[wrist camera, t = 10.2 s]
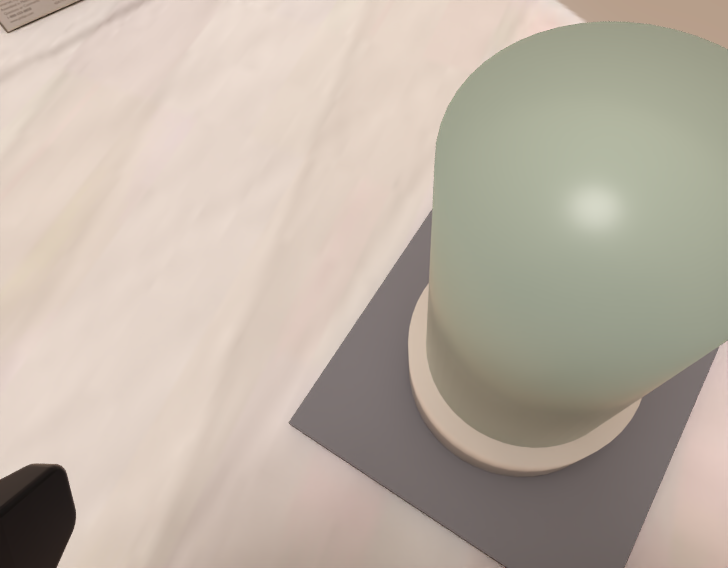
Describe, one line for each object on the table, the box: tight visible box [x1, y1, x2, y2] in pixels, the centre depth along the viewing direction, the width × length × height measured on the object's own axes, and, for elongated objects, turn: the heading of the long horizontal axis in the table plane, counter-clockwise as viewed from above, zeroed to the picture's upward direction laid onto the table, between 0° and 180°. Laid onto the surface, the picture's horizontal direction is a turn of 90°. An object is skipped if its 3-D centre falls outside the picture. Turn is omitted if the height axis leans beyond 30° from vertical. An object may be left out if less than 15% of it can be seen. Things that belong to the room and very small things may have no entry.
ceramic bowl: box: [408, 284, 642, 477], centre depth 20 cm, size 8×8×3 cm
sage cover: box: [426, 22, 728, 448], centre depth 14 cm, size 6×6×10 cm
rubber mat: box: [289, 210, 719, 568], centre depth 22 cm, size 12×12×1 cm
